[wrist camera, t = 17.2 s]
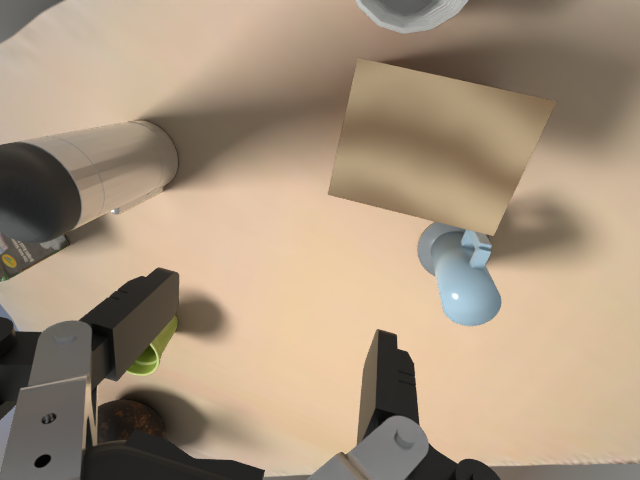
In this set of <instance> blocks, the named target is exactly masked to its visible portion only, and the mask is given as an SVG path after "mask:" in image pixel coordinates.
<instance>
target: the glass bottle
mask: <svg viewBox="0 0 640 480" xmlns="http://www.w3.org/2000/svg"><path fill="white" fill-rule="evenodd" d="M134 429H135V430H138V431H141V432H144V433H148V434H151V435H154V436H157V437H160V438H163V439H166V432H165V428H164V425H163V422H162V420H161V419H160V417H159V416H158V415H157V413H155V412H154V411H153V410H152V409H151V408H149V407H148V406H146V405H144V404H142V403H140V402H137V401H132V400H115V401H111V402H108V403H105V404H102V405H100V406H98V421H97V445H98V444H102V443H105V442H111V441H118V440H127V439H128V438H129V436H130V435H131V434H132V432H133V431H134Z"/></svg>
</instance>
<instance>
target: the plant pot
mask: <svg viewBox="0 0 640 480" xmlns="http://www.w3.org/2000/svg"><path fill="white" fill-rule="evenodd" d="M177 321H178V320H177V317H176V315H175V316H174V317H173V319H172V320H171V321H170V322H169V323H168V324H167V326H166V327H165V328H164V329H163V330H162V331H161V332H160V333H159V335H158V336H157V337H156V338H155V339H154V340H153V341H152V342H151V344H150V345H149V346H148V347H147V348H146V349H145V350H144V352H143V353H142V354H141V355H140V356H139V357H138V358H137V359H136V361H135V362H134V363H133V364H132V365H131V366H130V367H129V368H128V370H127V371H126V372H128V373H130V374H133V375H139V376H145V375H149V374H152V373H153V372H155V371H156V369H157V368H158V366H159V364H160V358H161V355H162V353H163V351H164V349H165V347H166V346H167V344H168V342H169V341H170V339H171V337H172V336H173V334H174V332H175V331H176V329H177V327H178V326H177Z"/></svg>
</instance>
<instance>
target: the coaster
mask: <svg viewBox="0 0 640 480" xmlns="http://www.w3.org/2000/svg"><path fill="white" fill-rule="evenodd" d="M454 231H456V232H462V233H465V231H466V229H463V228H459V227H455V226H451V225H447V224H443V223H439V222H434V223H433V224H431V225H430V226H429V227H427V228H426V230H425V231H424V232H423V233H422V235H421V237H420V239H419V242H418V257H419V260H420V262H421V264H422V266H423V267H424V268H425V269H426V270H427V271H428V272H429V273H430V274H432V275H434V276H435V271H434V267H433V262H432V258H431V246H432V244H433V242H434V241H435V240H436V239H437V238H438V237H439V236H440V235H442V234H444V233H447V232H454ZM486 236H487V234H486ZM487 238H488V236H487ZM488 240H489V238H488Z"/></svg>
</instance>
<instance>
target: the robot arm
mask: <svg viewBox="0 0 640 480" xmlns="http://www.w3.org/2000/svg"><path fill="white" fill-rule="evenodd" d="M177 168H178V156H177V151H176V149H175V146H174V144H173V142H172V141H171V139H170V137H169V136H168V135H167V134H166V133H165V132H164V131H163V130H162V129H161V128H160V127H158V126H156V125H155V124H153V123H150V122H147V121H141V120H137V121H129V122H125V123H119V124H113V125H107V126H102V127H96V128H91V129H85V130H79V131H74V132H68V133H63V134H57V135H51V136H46V137H41V138H35V139H30V140H24V141H18V142H14V143H8V144H3V145H0V233H2V234H4V235H5V236H7V237H9V238H12V239H14V240H17V241H20V242H24V243H33V244H36V243H43V242H48V241H51V240H53V239H56V238H58V237H60V236H62V235H64V234H66V233H68V232H70V231H72V230H74V229H76V228H78V227H80V226H82V225H84V224H86V223H88V222H90V221H92V220H94V219H96V218H98V217H100V216H102V215H104V214H106V213H108V212H111V213H113V214H120V213H122V212H124V211H126V210H128V209H130V208H132V207H134V206H136V205H138V204H140V203H142V202H144V201H146V200H148V199H150V198H152V197H154V196H156V195H158V194H159V193H161V192H163V188H164V186H165V185H166V184H168V183H169V182H171V180H172V179H173V178H174V177H175V174H176V172H177ZM3 274H4V270H3V267H2V264H1V261H0V282H1V280H2V278H3ZM178 304H179V274H178V273H177V272H174V271H170V270H167V269H163V268H157V269H155V270H154V271H153V272H152V273H150V274H149V275H148V276H147V277H144V276H140V277H138V278H135V279H133V280H130V281H128V282H127V283H125V284H124V285H123V286H122V287H120V288H119V289H118V291H115V292H114V293H113V294H111V295H110V297H109V298H106V299H105V300H104V301H103V302H101V303H100V304H99V305H98V306H96V307H95V308H94V309H93V310H91V311H90V312H89V313H88V314H86V315H85V316H84V317H82V318H81V319H80V320H79V321H64V322H60V323H57V324H54V325H52V326H50V327H49V328H47V329H46V330H44V331H43V332H19V331H18V332H17V331H15V329H14V325H13V323H12V321H11V320H9V319H7V318H3V317H0V420H1V419H2V418H3V417H4V416H5V415H6V414H7V413H8V412H9V411H10V410H11V409H12V408H13V407H14V406H15V405H16V407H15V412H14V416H13V420H12V424H11V429H10V433H9V437H8V441H7V446H6V450H5V454H4V458H3V462H2V467H1V471H0V480H263V477H264V472H265V470H262V469H259V468H256V467H253V466H249V465H246V464H243V463H240V462H237V461H234V460H215V459H195V458H193V457H191V456H190V455H188V454H187V453H185V452H184V451H182V450H181V449H179V448H178V447H176V446H175V445H174V444H172V443H171V442H169V441H168V440H166V439H163V438H160V437H157V436H154V435H151V434H148V433H144V432H141V431H138V430H135V429H134V431H133V432H132V434H131V435H130V436H129V438H128V439H127V440H118V441H111V442H105V443H102V444H98V445H97V421H98V384H99V383H100V382H101V381H102V380H103V379H104V378H107V379H110V380H113V381H116V382H117V381H118V380H119V379H120V378H121V376H122V375H123V374H124V373H125V372H126V371H127V370H128V368H129V367H130V366H131V365H132V364H133V363H134V362H135V361H136V359H137V358H138V357H139V356H140V355H141V354H142V353H143V352H144V350H145V349H146V348H147V347H148V346H149V345H150V344H151V342H152V341H153V340H154V339H155V338H156V337H157V336H158V335H159V333H160V332H161V331H162V330H163V329H164V328H165V327H166V326H167V324H168V323H169V322H170V321H171V320H172V319H173V317H174V316H175V314H176V311H177V309H178ZM415 386H416V382H415V371H414V363H413V361H412V359H411V357H410V356H409V354H408V352H407V351H403V350H399V349H397V335H396V334H393V333H390V332H386V331H383V330H379V329H377V330H376V333H375V335H374V338H373V341H372V344H371V346H370V349H369V352H368V355H367V358H366V361H365V365H364V369H363V377H362V389H361V400H360V412H359V424H358V436H357V446H356V447H355V448H353V449H352V450H351V451H350V452H349V453H347V454H344V453H343V452H340V453H338V454H336V455H335V456H334V457H332V458H331V459H330V460H329V461H328V462H327V463H325V464H324V465H323V466H322V467H321V468H319V469H318V470H317V471H316V472H315V473H314V474H312V475H311V476H310V477H309V478H308V479H307V480H500V478H499V477H498V476H497V474H496V473H495V472H494V471H493V470H492V469H491V468H489V467H488V466H487V465H485V464H484V463H482V462H480V461H477V460H474V459H464V460H462V461H460V462H459V463H458V464H457V463H456V462H454V461H452V460H451V459H449V458H448V457H446V456H444V455H443V454H441V453H440V452H438V451H437V450H436V449H434V448H433V447H432V446H431V445H430V444H429V443H428V439H427V437H426V434H425V433H424V431H423V430H422V428H421V427H420V425H419V416H418V404H417V393H416V387H415Z"/></svg>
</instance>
